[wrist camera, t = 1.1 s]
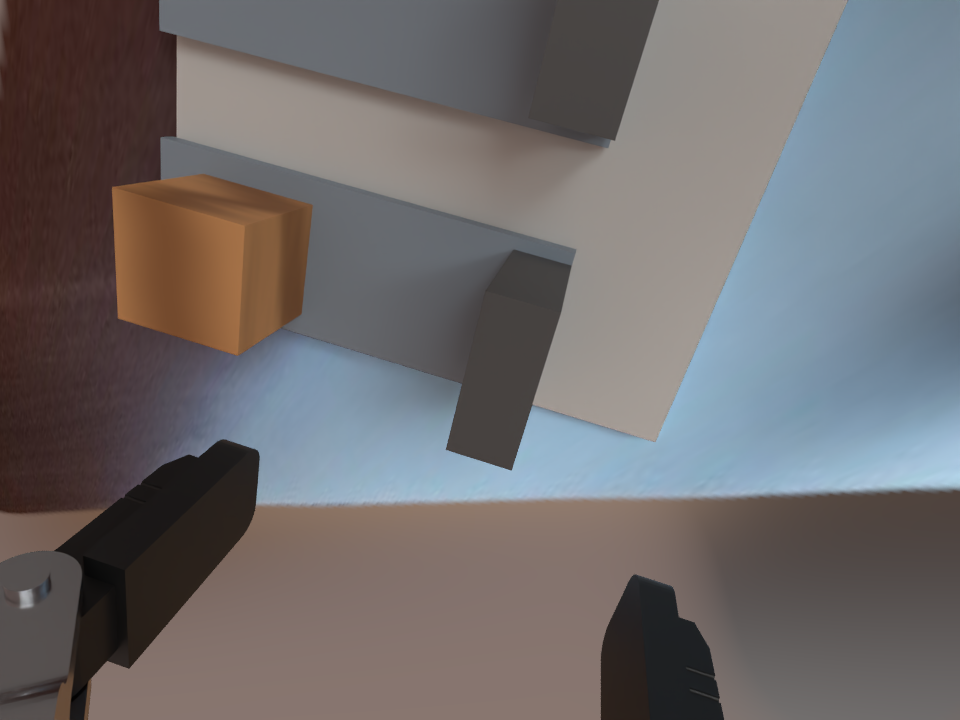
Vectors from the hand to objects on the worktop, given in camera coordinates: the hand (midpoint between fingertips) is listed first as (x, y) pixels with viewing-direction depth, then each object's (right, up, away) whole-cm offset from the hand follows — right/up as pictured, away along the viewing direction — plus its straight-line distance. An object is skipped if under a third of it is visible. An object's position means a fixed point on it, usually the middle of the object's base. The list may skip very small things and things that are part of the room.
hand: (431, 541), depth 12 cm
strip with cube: (-4, +8, +14) cm, 16 cm away
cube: (-9, +9, +13) cm, 18 cm away
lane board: (0, +12, +12) cm, 17 cm away
